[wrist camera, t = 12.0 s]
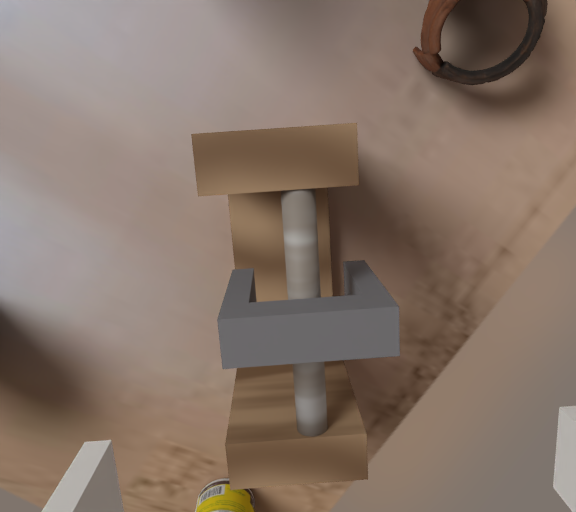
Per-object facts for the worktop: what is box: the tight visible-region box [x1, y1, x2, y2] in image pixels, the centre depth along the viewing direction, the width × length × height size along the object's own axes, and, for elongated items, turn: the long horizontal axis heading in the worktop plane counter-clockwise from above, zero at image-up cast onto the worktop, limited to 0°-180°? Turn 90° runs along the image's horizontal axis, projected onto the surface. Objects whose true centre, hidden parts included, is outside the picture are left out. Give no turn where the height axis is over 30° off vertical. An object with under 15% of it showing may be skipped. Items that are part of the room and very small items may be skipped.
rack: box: [191, 123, 368, 490], centre depth 33 cm, size 20×8×16 cm, turn 4°
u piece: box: [217, 260, 400, 369], centre depth 28 cm, size 9×3×9 cm, turn 94°
